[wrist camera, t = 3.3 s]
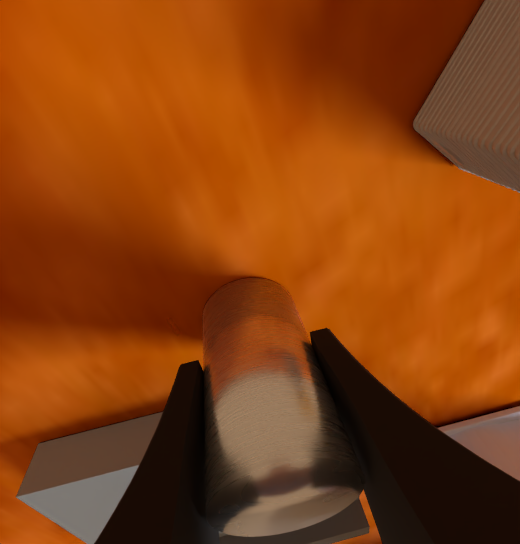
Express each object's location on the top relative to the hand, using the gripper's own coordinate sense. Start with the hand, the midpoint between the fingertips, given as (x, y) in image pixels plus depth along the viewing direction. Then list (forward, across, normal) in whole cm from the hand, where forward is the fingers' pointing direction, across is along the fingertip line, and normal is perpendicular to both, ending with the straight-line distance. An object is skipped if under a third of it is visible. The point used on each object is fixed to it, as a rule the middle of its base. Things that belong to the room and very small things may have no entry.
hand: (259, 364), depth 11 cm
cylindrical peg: (+3, 0, 0) cm, 3 cm away
